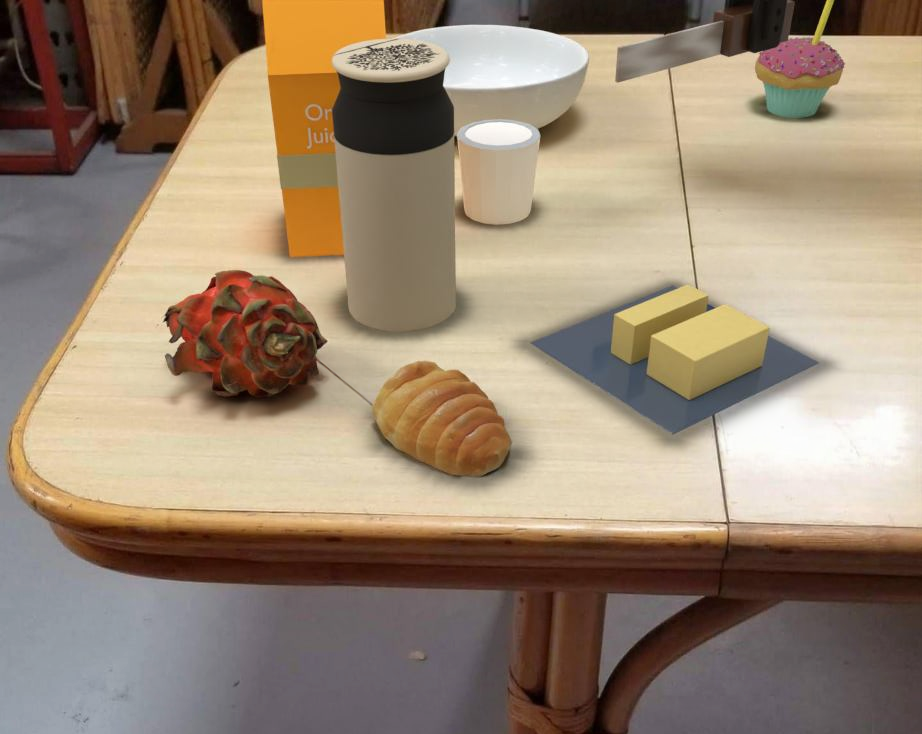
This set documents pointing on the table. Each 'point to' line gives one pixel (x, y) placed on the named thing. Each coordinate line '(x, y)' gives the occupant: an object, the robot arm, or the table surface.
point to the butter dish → (631, 385)
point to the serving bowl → (508, 72)
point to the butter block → (707, 351)
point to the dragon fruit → (245, 335)
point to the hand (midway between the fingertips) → (749, 43)
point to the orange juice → (311, 109)
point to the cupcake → (799, 72)
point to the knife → (693, 43)
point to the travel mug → (396, 182)
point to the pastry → (442, 420)
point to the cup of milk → (498, 169)
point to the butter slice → (653, 321)
